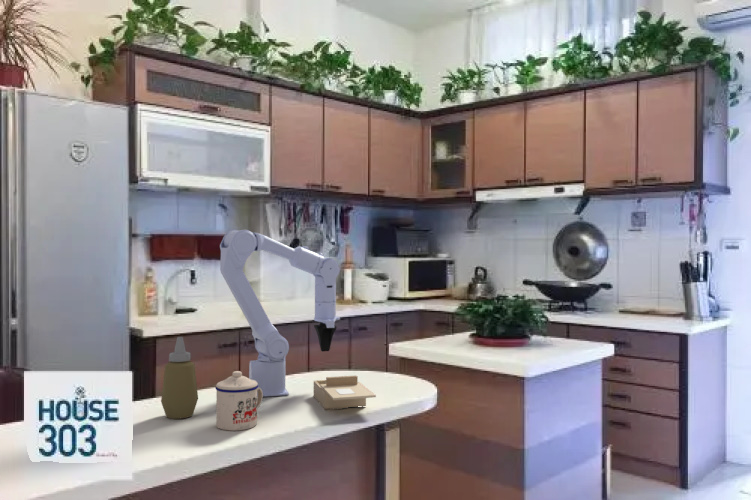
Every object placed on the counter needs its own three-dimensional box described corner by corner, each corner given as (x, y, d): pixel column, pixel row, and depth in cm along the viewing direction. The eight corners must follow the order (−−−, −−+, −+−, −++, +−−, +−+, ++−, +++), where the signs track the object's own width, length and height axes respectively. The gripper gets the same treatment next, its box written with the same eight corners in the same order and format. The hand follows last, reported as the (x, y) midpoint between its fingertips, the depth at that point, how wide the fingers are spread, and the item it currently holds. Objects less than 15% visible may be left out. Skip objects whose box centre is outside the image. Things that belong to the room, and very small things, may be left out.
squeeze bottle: (160, 413, 146) (160, 335, 146) (196, 410, 149) (196, 333, 149) (161, 422, 139) (161, 340, 139) (199, 419, 142) (200, 338, 141)
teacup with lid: (235, 434, 131) (235, 378, 131) (206, 426, 136) (206, 372, 136) (276, 421, 141) (276, 368, 140) (247, 414, 146) (247, 363, 146)
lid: (320, 386, 156) (320, 376, 156) (359, 383, 159) (359, 374, 158) (333, 400, 142) (333, 389, 142) (375, 397, 145) (375, 386, 145)
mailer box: (313, 396, 163) (313, 380, 163) (350, 393, 166) (351, 378, 166) (325, 410, 150) (325, 393, 150) (365, 407, 153) (365, 390, 153)
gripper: (345, 303, 167) (345, 354, 168) (333, 298, 181) (333, 346, 182) (319, 304, 165) (319, 356, 166) (309, 299, 179) (309, 347, 180)
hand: (325, 350), depth 174 cm, fingers closed
